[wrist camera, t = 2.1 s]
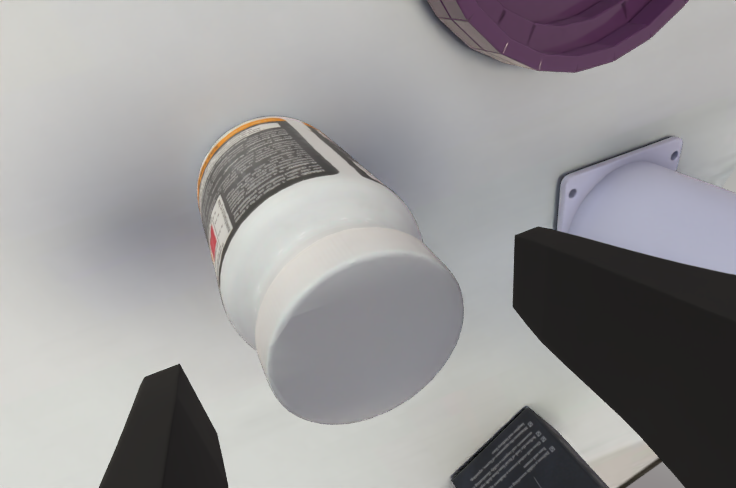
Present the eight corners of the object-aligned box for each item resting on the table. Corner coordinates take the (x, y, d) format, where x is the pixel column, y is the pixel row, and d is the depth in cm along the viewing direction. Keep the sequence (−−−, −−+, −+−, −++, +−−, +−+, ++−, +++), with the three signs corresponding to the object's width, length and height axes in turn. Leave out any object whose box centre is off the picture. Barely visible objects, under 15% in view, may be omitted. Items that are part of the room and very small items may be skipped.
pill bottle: (198, 256, 18) (237, 472, 10) (191, 107, 16) (235, 239, 8) (335, 245, 20) (456, 415, 12) (349, 113, 18) (511, 220, 10)
